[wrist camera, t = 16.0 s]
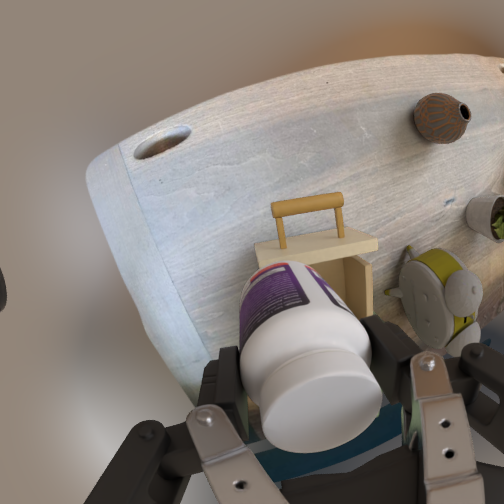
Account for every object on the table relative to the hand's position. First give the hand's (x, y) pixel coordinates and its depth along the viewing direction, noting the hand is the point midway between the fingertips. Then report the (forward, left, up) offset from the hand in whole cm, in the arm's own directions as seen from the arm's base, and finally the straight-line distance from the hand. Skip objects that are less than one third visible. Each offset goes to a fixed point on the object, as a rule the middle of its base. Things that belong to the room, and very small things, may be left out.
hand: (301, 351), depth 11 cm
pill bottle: (0, 0, -6) cm, 6 cm away
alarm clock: (+19, -9, -22) cm, 30 cm away
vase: (+26, +13, -22) cm, 36 cm away
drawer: (+5, -4, -21) cm, 22 cm away
